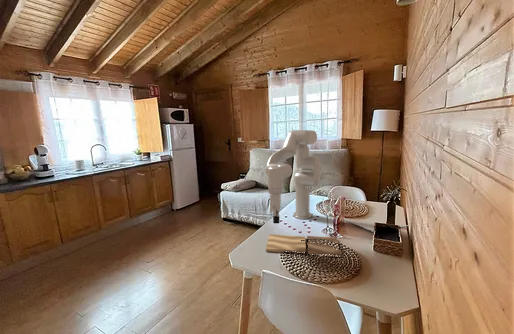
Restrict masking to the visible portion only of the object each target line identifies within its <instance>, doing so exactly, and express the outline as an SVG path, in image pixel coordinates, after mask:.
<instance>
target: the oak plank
mask: <svg viewBox="0 0 514 334" xmlns="http://www.w3.org/2000/svg"><path fill="white" fill-rule="evenodd" d="M301 240H305V241H301ZM306 245H307V242H306V236H302V235H287V234H286V235H284V234H269V235H268V239H267V242H266V247H265V252H274V253H283V252H282V251H296V252H306V253H307V246H306Z"/></svg>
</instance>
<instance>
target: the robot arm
mask: <svg viewBox="0 0 514 334" xmlns="http://www.w3.org/2000/svg"><path fill="white" fill-rule="evenodd" d="M317 140H318V134H317V132H316V131H315V130H307V129H296V130H295V129H294V130H290V131H289V132H288V133H287V135H286V137H285V139H284V142H283V144H282V146H281V148H280V149H278V150H276V151H275V152H274V153H272V154H271V156H270V157H269V159H268V161H267V164H266V167H265V173H266V175H267V181H268V182H267V183H268V185H267V186H268V194H269V212H270V213H272V220H273V221H272V222H273V224H280V210H281V203H282V202H281V201H282V199H281V198H282V197H281V195H282V194H283V193H284V183H283V182H284V180H283V179H287V178H289V177H290V176H292V173H293V168H292V166H291V165H290V164H288V163H279V162H281V161H284V160H288V159H289V158H292V157H294V156H295V155H296V156H295V157H296V158H295V161H296V162H295V164H296V168H297V169H298V170H302V171H296V173H295V174H294V175H293V176H294V177H293V178H294V185H295V187H294V188H295V212H293V214H292V215H293V217H294V218H296V219H300V220H308V219H310V218H312V213H311V212H310V200H311V199H310V196H311V195H310V193H311V192H310V189H309V188H308V187H316V188H317V187H319V186H320V184H321V176H322V175H321V172H322V171H321V170H322V169H321V167H322V165H321V164H322V163H321V159H320V157H318V156H315V155H310V147H309V145H314V144H315V143H316V142H317Z"/></svg>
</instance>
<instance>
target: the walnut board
mask: <svg viewBox="0 0 514 334" xmlns="http://www.w3.org/2000/svg"><path fill="white" fill-rule="evenodd" d="M307 239H325V240H329V241H333V242H336V243H338V244H339V240H338V238H337V237H333V236H317V235H307V236H306V240H307ZM306 245H308V248H307V255H308V254H330V255H331V254H334V255H336V254H337V255H340V253H342V251H341V249H340V250H338V249H337V250H336V249H335V248H334V249H333V247H330V246H328V245H322V244H321V245H320V244H314V243H313V242H312V243H310V242H309V243H308V242H307V241H306Z"/></svg>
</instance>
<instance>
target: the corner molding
mask: <svg viewBox="0 0 514 334" xmlns="http://www.w3.org/2000/svg"><path fill="white" fill-rule="evenodd" d="M343 221H345V222H348V223H350V224H353V225H355V226H358V227H361V228H363V229H365V230H367V231H371V233H375V232H374V224H375V223H371V222H362V221H357V220H354V219H353V220H352V219H348V218H344V220H343ZM399 226H400V227H401V228H406V227H409V226H410V225H408V224H407V225H405V224H404V225H403V224H402V225H399Z"/></svg>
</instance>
